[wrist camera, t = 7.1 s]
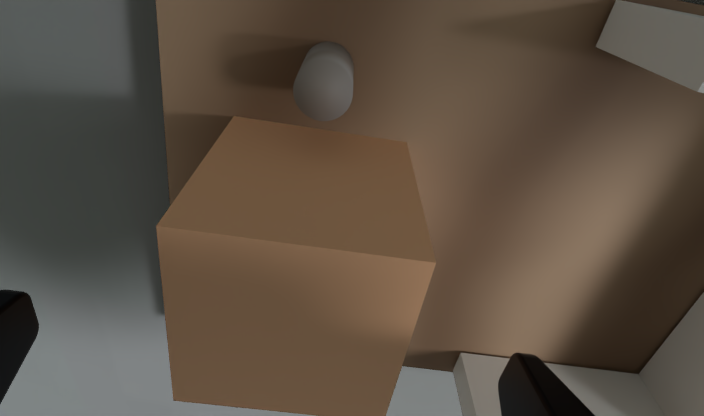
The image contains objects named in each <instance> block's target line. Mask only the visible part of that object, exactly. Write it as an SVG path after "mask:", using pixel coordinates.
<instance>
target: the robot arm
mask: <svg viewBox="0 0 704 416" xmlns="http://www.w3.org/2000/svg"><path fill="white" fill-rule="evenodd" d="M38 329H39V323H38V319H37V316H36V313H35V310H34V307H33V303H32V300H31V297H30V296H29V295H28V294H27V293H26V292H21V291H13V290H0V404H1V402H2V400H3V398H4V396H5V394H6V393H7V391H8V389H9V387H10V385H11V383H12V381H13V380H14V378H15V376H16V374H17V372H18V370H19V368H20V367H21V365H22V363H23V361H24V359H25V357H26V355H27V354H28V352H29V350H30V348H31V346H32V344H33V342H34V341H35V339H36V336H37V334H38ZM498 394H499V401H500V408H501V415H502V416H595V415H594V414H593V413H592V412H591V411H590V410H589V409H588V408H587V407H586V406H585V405H584V403H583V402H582V401H581V400H580V399H579V398H578V397H577V396H576V395H575V394H574V393H573V392H572V391H571V390H570V389H569V388H568V387H567V386H566V385H565V384H564V383H563V382H562V381H561V380H560V379H559V378H558V377H557V376H556V375H555V374H554V373H553V372H552V371H551V370H550V369H549V367H548V366H547V365H546V364H545V363H544V362H543V361H542V360H541V359H540V358H539V357H537V356H536V355H533V354H527V353H519V352H517V353H514V354H513V355H512V356H511V357H510V359H509V361H508V363H507V365H506V367H505V368H504V370H503V372H502V374H501V376H500V378H499V382H498Z"/></svg>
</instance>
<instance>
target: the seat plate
mask: <svg viewBox="0 0 704 416" xmlns="http://www.w3.org/2000/svg"><path fill="white" fill-rule="evenodd" d="M615 1H616V0H156V12H157V26H158V40H159V55H160V69H161V84H162V98H163V112H164V127H165V141H166V156H167V170H168V184H169V199H170V206H171V204H172V203H173V201H174V200H175V199H176V197H177V196H178V194H179V193H180V192H181V190H182V189H183V187H184V186H185V184H186V183H187V182H188V180H189V179H190V177H191V176H192V175H193V173H194V172H195V170H196V169H197V168H198V166H199V165H200V163H201V162H202V160H203V159H204V158H205V156H206V155H207V153H208V152H209V151H210V149H211V148H212V146H213V145H214V144H215V142H216V141H217V139H218V138H219V136H220V135H221V134H222V132H223V131H224V129H225V128H226V127H227V125H228V124H229V122H230V121H231V120H232V118H233V117H234V116H237V117H244V118H250V119H257V120H264V121H270V122H277V123H283V124H290V125H297V126H303V127H310V128H316V129H323V130H330V131H336V132H343V133H349V134H356V135H363V136H369V137H376V138H382V139H389V140H396V141H402V142H407V146H408V150H409V154H410V158H411V162H412V166H413V170H414V174H415V178H416V182H417V186H418V191H419V195H420V199H421V203H422V207H423V211H424V215H425V219H426V223H427V227H428V231H429V236H430V240H431V244H432V248H433V252H434V256H435V260H436V265H435V268H434V271H433V274H432V277H431V280H430V283H429V286H428V289H427V292H426V295H425V298H424V301H423V304H422V307H421V310H420V313H419V316H418V319H417V322H416V325H415V328H414V331H413V334H412V337H411V340H410V343H409V346H408V349H407V352H406V355H405V358H404V362H403V365H402V366H407V367H415V368H424V369H432V370H441V371H449V372H453V369H454V367H455V364H456V362H457V360H458V358H459V355H460V353H468V354H477V355H485V356H493V357H501V358H510V357H511V356H512V355H513V354H514V353H517V352H519V353H527V354H533V355H536V356H537V357H539V358H540V359H541V360H542V361H543V362H544V363H551V364H559V365H567V366H575V367H584V368H592V369H600V370H608V371H617V372H625V373H633V374H639V373H640V372H641V370H642V369H643V368H644V367H645V365H646V364H647V363H648V362H649V360H650V359H651V358H652V357H653V355H654V354H655V353H656V351H657V350H658V349H659V348H660V346H661V345H662V344H663V343H664V341H665V340H666V339H667V338H668V336H669V335H670V334H671V333H672V331H673V330H674V329H675V328H676V326H677V325H678V324H679V323H680V321H681V320H682V319H683V318H684V316H685V315H686V314H687V313H688V311H689V310H690V309H691V307H692V306H693V305H694V304H695V302H696V301H697V300H698V299H699V297H700V296H701V295H702V294H703V292H704V93H700V92H696V91H694V90H692V89H690V88H687V87H685V86H683V85H680V84H678V83H676V82H674V81H671V80H669V79H667V78H665V77H662V76H660V75H658V74H656V73H653V72H651V71H649V70H647V69H644V68H642V67H640V66H638V65H635V64H633V63H631V62H629V61H626V60H624V59H622V58H620V57H617V56H615V55H613V54H610V53H608V52H606V51H604V50H601V49H599V48H597V47H596V44H597V42H598V40H599V38H600V35H601V33H602V31H603V28H604V26H605V24H606V22H607V19H608V17H609V15H610V13H611V10H612V8H613V6H614V4H615ZM622 1H627V2H632V3H637V4H643V5H648V6H653V7H658V8H664V9H669V10H674V11H679V12H685V13H690V14H695V15H700V16H704V5H699V4H694V3H689V2H683V1H678V0H622Z"/></svg>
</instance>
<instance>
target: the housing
mask: <svg viewBox="0 0 704 416" xmlns="http://www.w3.org/2000/svg"><path fill="white" fill-rule="evenodd" d="M596 47H597V48H599V49H601V50H604V51H606V52H608V53H610V54H613V55H615V56H617V57H620V58H622V59H624V60H626V61H629V62H631V63H633V64H635V65H638V66H640V67H642V68H644V69H647V70H649V71H651V72H653V73H656V74H658V75H660V76H662V77H665V78H667V79H669V80H671V81H674V82H676V83H678V84H680V85H683V86H685V87H687V88H690V89H692V90H694V91H696V92H700V93H704V16H700V15H695V14H690V13H685V12H679V11H674V10H669V9H664V8H658V7H653V6H648V5H643V4H637V3H632V2H627V1H622V0H616V1H615V4H614V6H613V8H612V10H611V13H610V15H609V17H608V19H607V22H606V24H605V26H604V28H603V31H602V33H601V35H600V38H599V40H598V42H597V44H596ZM509 359H510V358H501V357H493V356H485V355H477V354H468V353H460V355H459V358H458V360H457V362H456V364H455V367H454V369H453V374H454V378H455V383H456V387H457V392H458V396H459V401H460V405H461V410H462V414H463V416H502V415H501V408H500V401H499V394H498V382H499V378H500V376H501V374H502V372H503V370H504V368H505V367H506V365H507V363H508V361H509ZM545 364H546V365H547V366H548V367H549V369H550V370H551V371H552V372H553V373H554V374H555V375H556V376H557V377H558V378H559V379H560V380H561V381H562V382H563V383H564V384H565V385H566V386H567V387H568V388H569V389H570V390H571V391H572V392H573V393H574V394H575V395H576V396H577V397H578V398H579V399H580V400H581V401H582V402H583V403H584V405H585V406H586V407H587V408H588V409H589V410H590V411H591V412H592V413H593V414H594V415H595V416H704V292H703V294H702V295H701V296H700V297H699V299H698V300H697V301H696V302H695V304H694V305H693V306H692V307H691V309H690V310H689V311H688V313H687V314H686V315H685V316H684V318H683V319H682V320H681V321H680V323H679V324H678V325H677V326H676V328H675V329H674V330H673V331H672V333H671V334H670V335H669V336H668V338H667V339H666V340H665V341H664V343H663V344H662V345H661V346H660V348H659V349H658V350H657V351H656V353H655V354H654V355H653V357H652V358H651V359H650V360H649V362H648V363H647V364H646V365H645V367H644V368H643V369H642V370H641V372H640V373H639V374H633V373H625V372H617V371H608V370H600V369H592V368H584V367H575V366H567V365H559V364H551V363H545Z"/></svg>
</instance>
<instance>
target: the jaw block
mask: <svg viewBox="0 0 704 416" xmlns="http://www.w3.org/2000/svg"><path fill="white" fill-rule="evenodd" d="M156 231H157V241H158V250H159V260H160V270H161V280H162V290H163V300H164V310H165V320H166V330H167V340H168V350H169V360H170V370H171V380H172V390H173V400H174V401H182V402H192V403H202V404H211V405H221V406H231V407H240V408H250V409H260V410H269V411H279V412H289V413H298V414H308V415H318V416H386V413H387V410H388V407H389V404H390V401H391V398H392V395H393V392H394V389H395V386H396V383H397V380H398V377H399V374H400V371H401V368H402V365H403V362H404V358H405V355H406V352H407V349H408V346H409V343H410V340H411V337H412V334H413V331H414V328H415V325H416V322H417V319H418V316H419V313H420V310H421V307H422V304H423V301H424V298H425V295H426V292H427V289H428V286H429V283H430V280H431V277H432V274H433V271H434V268H435V265H436V260H435V256H434V252H433V248H432V244H431V240H430V236H429V231H428V227H427V223H426V219H425V215H424V211H423V207H422V203H421V199H420V195H419V191H418V186H417V182H416V178H415V174H414V170H413V166H412V162H411V158H410V154H409V150H408V146H407V142H402V141H396V140H389V139H382V138H376V137H369V136H363V135H356V134H349V133H343V132H336V131H330V130H323V129H316V128H310V127H303V126H297V125H290V124H283V123H277V122H270V121H264V120H257V119H250V118H244V117H237V116H234V117H233V118H232V120H231V121H230V122H229V124H228V125H227V127H226V128H225V129H224V131H223V132H222V134H221V135H220V136H219V138H218V139H217V141H216V142H215V144H214V145H213V146H212V148H211V149H210V151H209V152H208V153H207V155H206V156H205V158H204V159H203V160H202V162H201V163H200V165H199V166H198V168H197V169H196V170H195V172H194V173H193V175H192V176H191V177H190V179H189V180H188V182H187V183H186V184H185V186H184V187H183V189H182V190H181V192H180V193H179V194H178V196H177V197H176V199H175V200H174V201H173V203H172V204H171V206H170V207H169V208H168V210H167V211H166V213H165V214H164V216H163V217H162V218H161V220H160V221H159V223H158V224H157V225H156Z"/></svg>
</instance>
